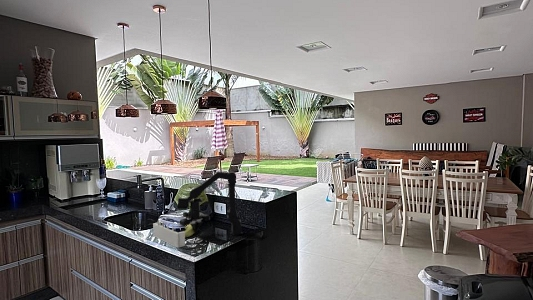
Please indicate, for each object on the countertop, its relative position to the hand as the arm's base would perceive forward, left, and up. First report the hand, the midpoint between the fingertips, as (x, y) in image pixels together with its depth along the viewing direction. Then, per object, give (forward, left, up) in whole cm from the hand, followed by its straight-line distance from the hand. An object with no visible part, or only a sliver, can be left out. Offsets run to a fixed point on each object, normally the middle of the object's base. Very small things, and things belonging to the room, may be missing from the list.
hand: (195, 233), depth 185 cm
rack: (+4, +16, -2) cm, 17 cm away
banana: (+8, +2, -2) cm, 9 cm away
